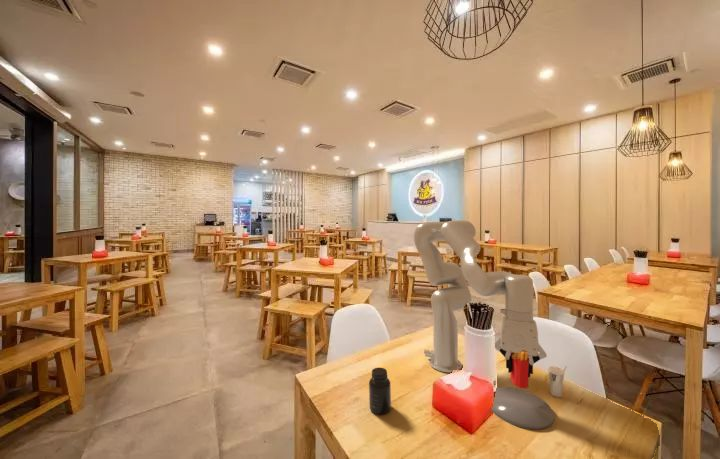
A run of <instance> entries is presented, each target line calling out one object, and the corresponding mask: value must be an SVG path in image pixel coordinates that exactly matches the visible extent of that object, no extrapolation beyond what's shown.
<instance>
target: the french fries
mask: <svg viewBox="0 0 720 459" xmlns="http://www.w3.org/2000/svg"><path fill="white" fill-rule="evenodd" d="M527 355H528V352H525V351H522V352H521V353H519V354H517V353H512V352H511V354H510V356H511V372H510V381H511V382H512V383H513V385H514V386H515V387H516V388H518V389H524V390H526V389H528V388H529V377H528V370H529V359H528V356H527Z"/></svg>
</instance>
